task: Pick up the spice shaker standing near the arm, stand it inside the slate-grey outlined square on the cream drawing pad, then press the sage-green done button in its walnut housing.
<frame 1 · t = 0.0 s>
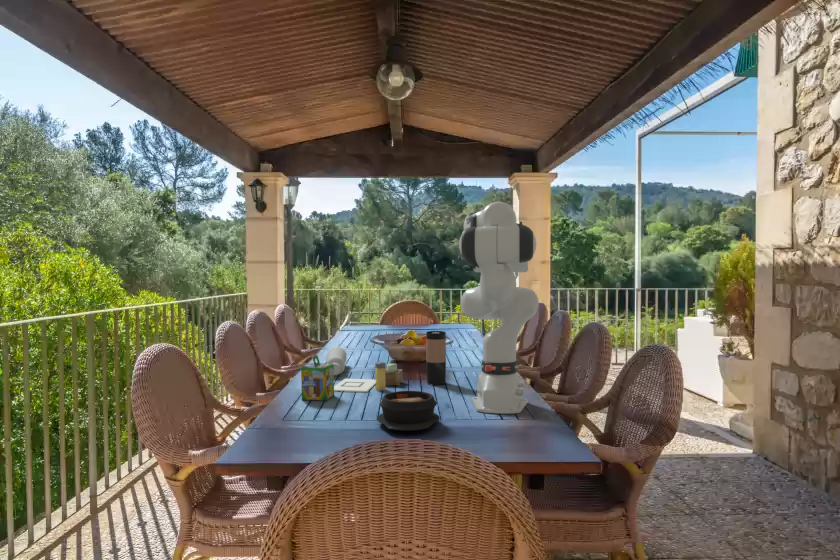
hand: (500, 284, 223), 39 cm above the table, tool pointing down, fingers open, 8 cm apart
chalk box: (318, 398, 209), on the table
done button: (391, 372, 231), point 4 cm above the table, slide at 0.0 cm
casserole: (408, 424, 176), on the table
drawing pad: (355, 386, 228), on the table
bottle: (335, 372, 257), on the table
button housing: (391, 383, 232), on the table
travel mug: (436, 383, 232), on the table
spice shaker: (380, 389, 221), on the table
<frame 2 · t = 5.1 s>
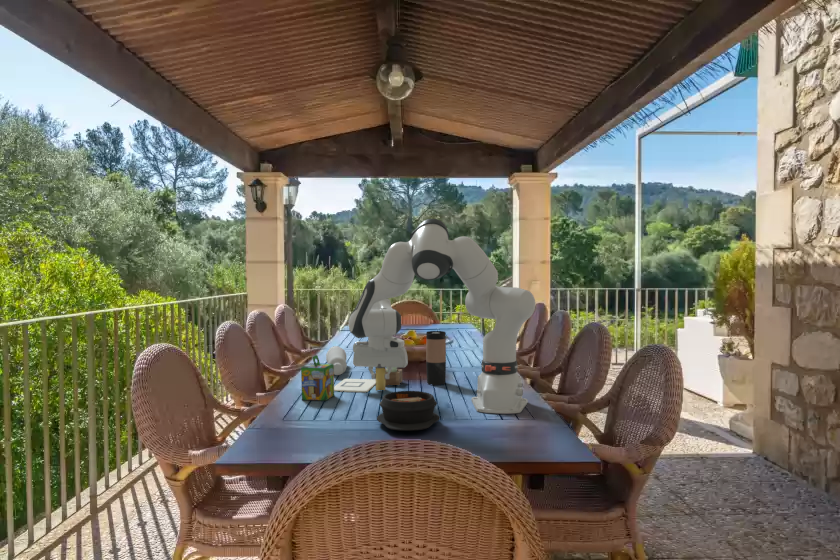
hand: (380, 378, 221), 4 cm above the table, tool pointing down, fingers closed on spice shaker, 4 cm apart
spice shaker: (380, 389, 221), on the table, touching gripper
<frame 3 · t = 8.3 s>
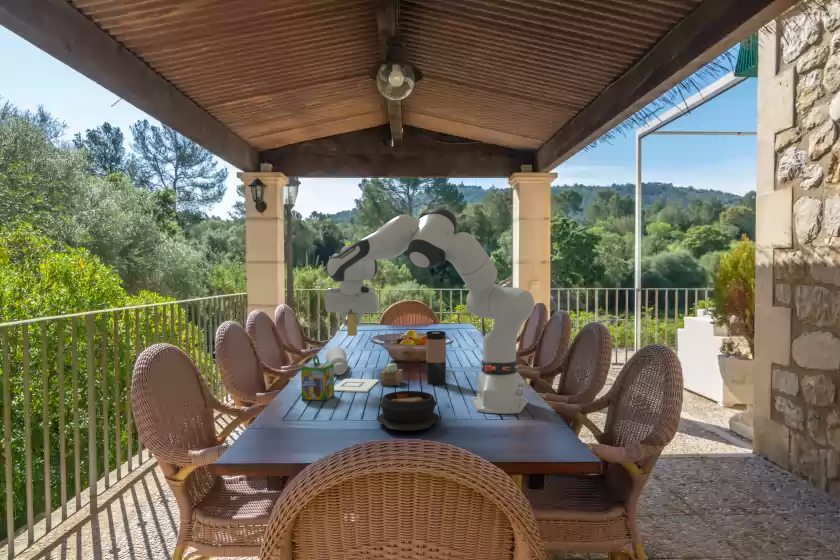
hand: (352, 324, 227), 24 cm above the table, tool pointing down, fingers closed on spice shaker, 4 cm apart
spice shaker: (352, 335, 227), point 20 cm above the table, touching gripper
everything else where it was.
when the fingers open (6 cm above the table, at t = 11.7 s): spice shaker drops 1 cm, resting on drawing pad.
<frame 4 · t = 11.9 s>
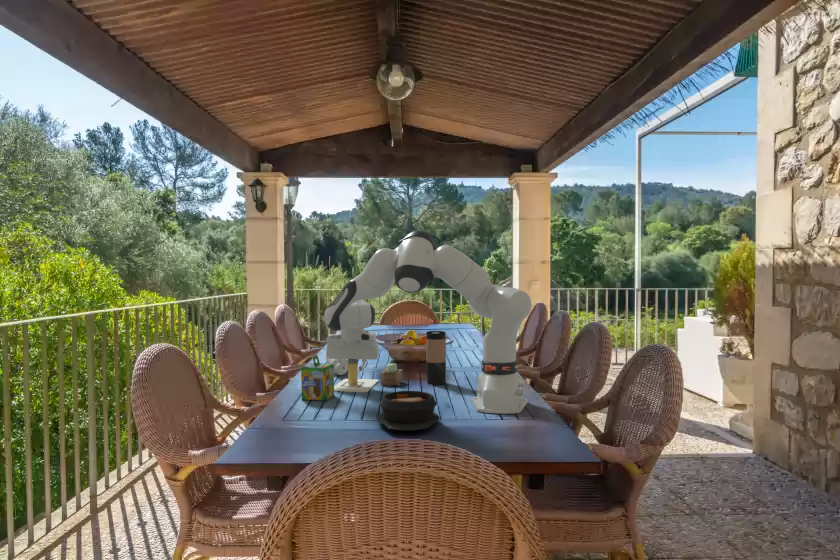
hand: (352, 370, 228), 6 cm above the table, tool pointing down, fingers open, 5 cm apart
spice shaker: (352, 384, 228), point 1 cm above the table, touching drawing pad
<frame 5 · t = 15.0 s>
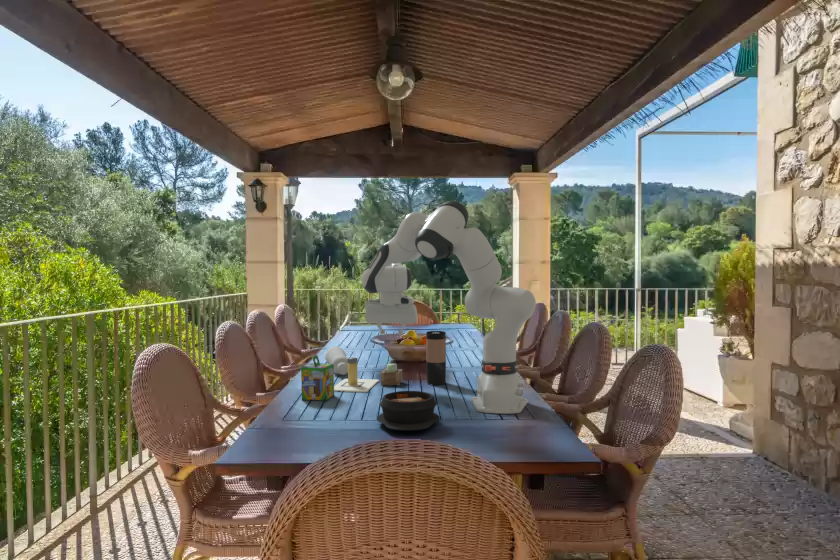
hand: (391, 334, 231), 19 cm above the table, tool pointing down, fingers open, 6 cm apart
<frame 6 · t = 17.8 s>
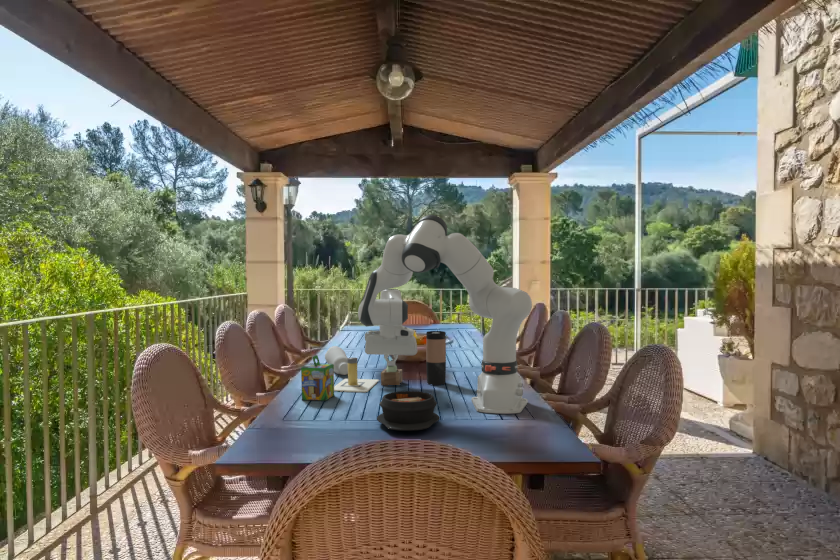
hand: (391, 366, 231), 7 cm above the table, tool pointing down, fingers closed, pressing on done button
done button: (391, 373, 231), point 4 cm above the table, slide at 0.7 cm, touching gripper
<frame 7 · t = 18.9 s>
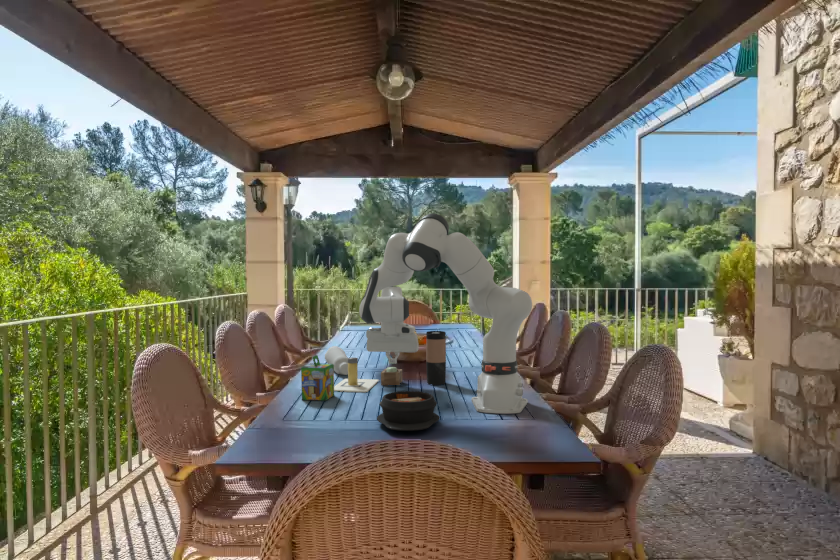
hand: (392, 363, 232), 8 cm above the table, tool pointing down, fingers closed
done button: (391, 375, 232), point 3 cm above the table, slide at 1.4 cm
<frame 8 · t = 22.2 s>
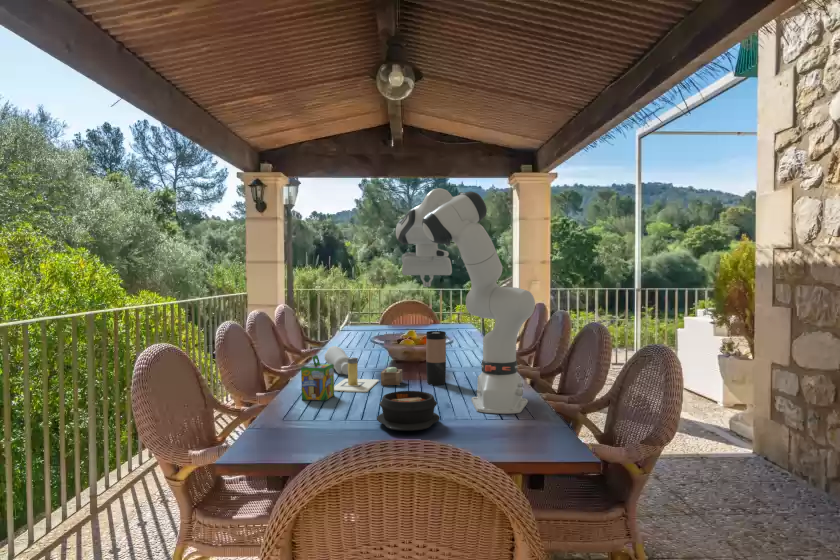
hand: (426, 286, 242), 37 cm above the table, tool pointing down, fingers closed
at the end: spice shaker inside the target area (0.0 cm from its centre), point 0.6 cm above the table; spice shaker tilted 0°; done button slide at 1.4 cm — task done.
